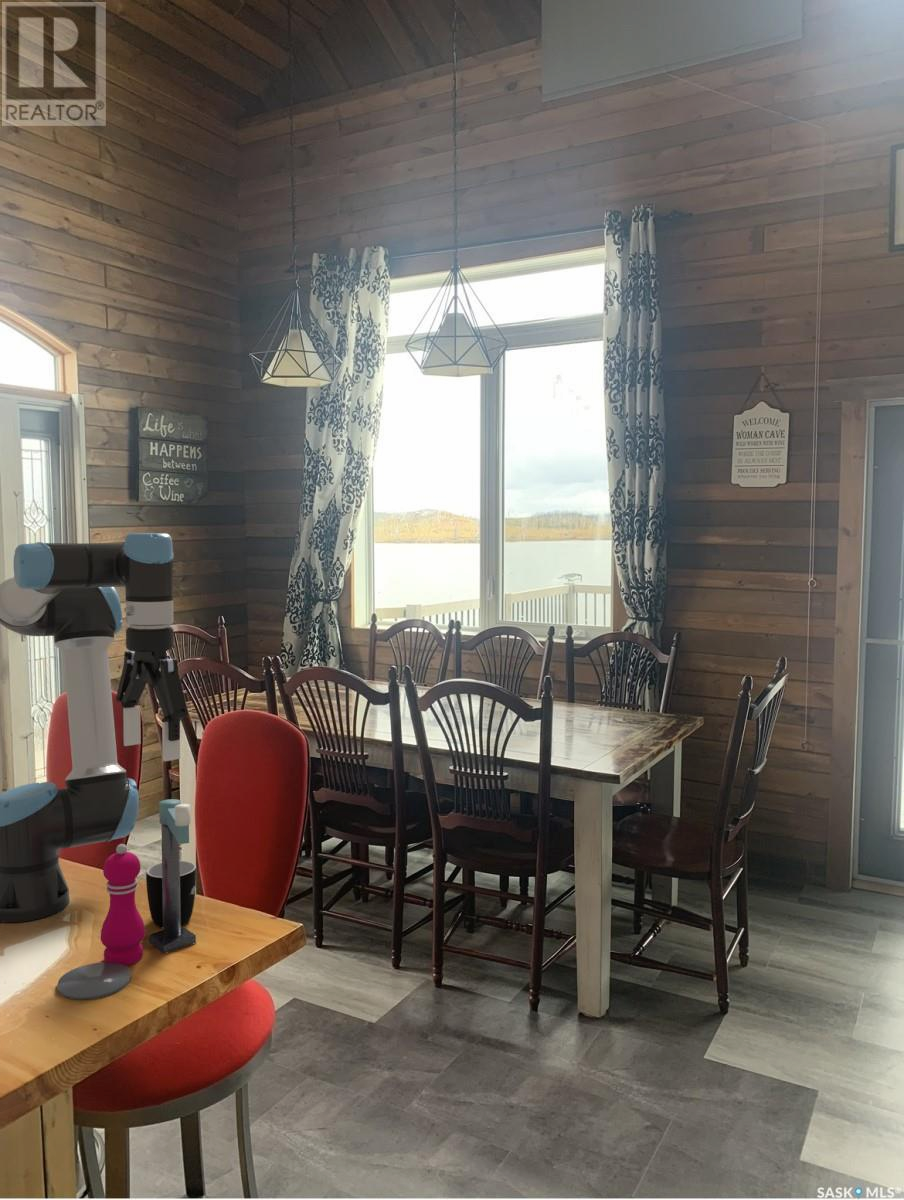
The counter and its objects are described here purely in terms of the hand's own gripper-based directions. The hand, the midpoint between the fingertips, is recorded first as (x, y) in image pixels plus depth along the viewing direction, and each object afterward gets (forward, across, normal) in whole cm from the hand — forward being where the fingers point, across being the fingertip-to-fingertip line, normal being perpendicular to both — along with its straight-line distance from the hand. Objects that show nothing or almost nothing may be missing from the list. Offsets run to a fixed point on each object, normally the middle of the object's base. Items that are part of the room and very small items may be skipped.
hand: (151, 752), depth 153 cm
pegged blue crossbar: (+14, +1, +4) cm, 15 cm away
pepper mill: (+36, -4, -4) cm, 37 cm away
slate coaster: (+36, +1, -11) cm, 38 cm away
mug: (+37, -14, +11) cm, 40 cm away
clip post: (+36, -4, +5) cm, 37 cm away
